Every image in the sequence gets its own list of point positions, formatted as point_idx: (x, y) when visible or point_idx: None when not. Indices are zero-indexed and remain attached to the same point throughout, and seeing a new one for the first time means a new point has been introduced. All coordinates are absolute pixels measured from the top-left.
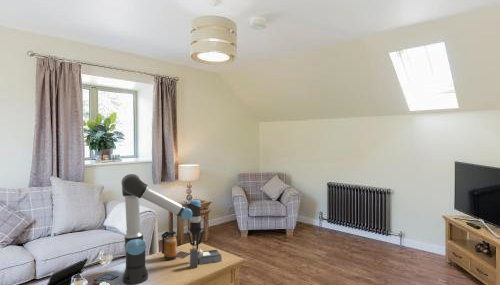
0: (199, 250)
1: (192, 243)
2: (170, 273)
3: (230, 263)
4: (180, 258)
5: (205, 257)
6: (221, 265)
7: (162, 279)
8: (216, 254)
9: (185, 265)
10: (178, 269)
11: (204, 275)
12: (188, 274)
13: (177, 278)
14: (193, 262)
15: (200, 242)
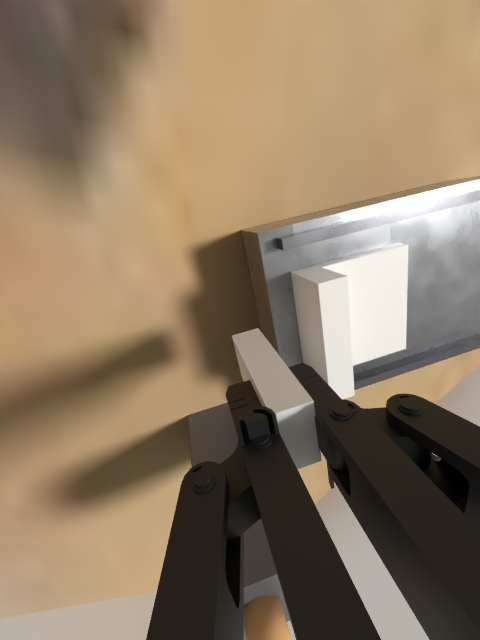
0: (316, 306)
1: (250, 525)
2: (47, 533)
3: (475, 364)
4: (39, 205)
5: None
6: None
7: (17, 605)
8: (456, 307)
9: (145, 399)
10: (97, 471)
11: None
12: None
13: (124, 578)
14: None
15: (431, 473)
